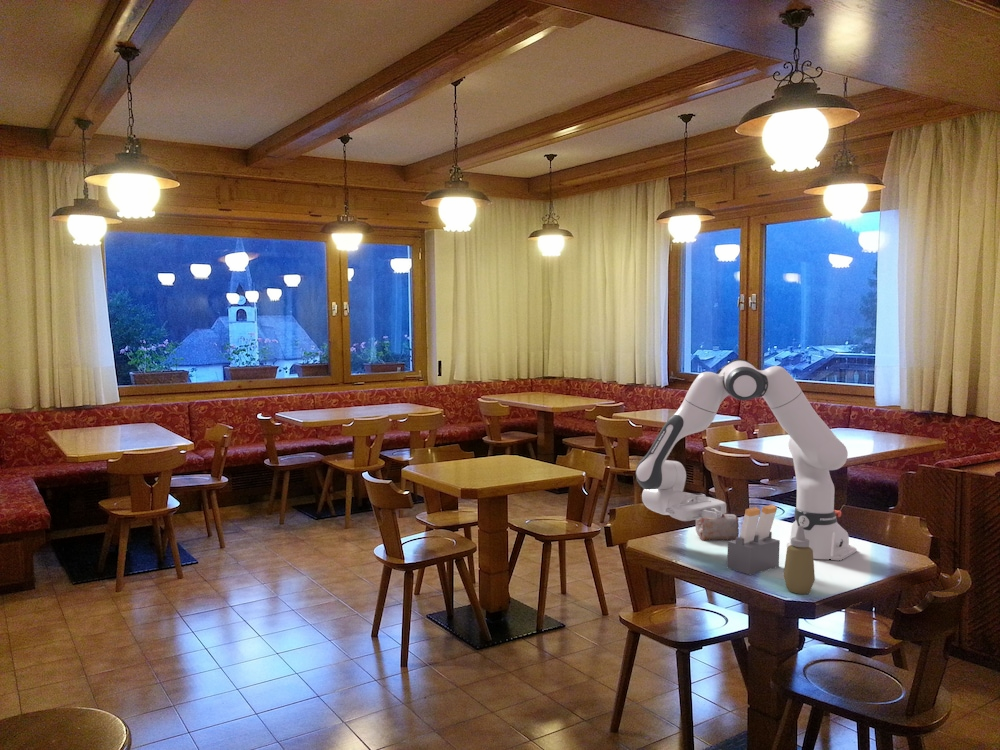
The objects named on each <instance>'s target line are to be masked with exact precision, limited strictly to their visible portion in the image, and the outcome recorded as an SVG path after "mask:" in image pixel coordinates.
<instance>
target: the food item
mask: <svg viewBox="0 0 1000 750" xmlns="http://www.w3.org/2000/svg"><path fill="white" fill-rule="evenodd" d="M739 521H740V519H739V517H738V516H737V515H736V514H734V513H725V514H722V517H720V518H709V517H706V518H701V519H696V520H695V532H696V534H697V536H698V537H699V538H700V539H701V540H702V541H727V542H728V541H732V540H736V537H739V536H740V534H739V533H740V532H739V531H740V529H739V527H740V526H739V525H740V524H739Z"/></svg>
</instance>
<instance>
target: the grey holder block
mask: <svg viewBox="0 0 1000 750" xmlns="http://www.w3.org/2000/svg"><path fill="white" fill-rule="evenodd" d="M780 543H781V542H780V540H779V539H775V538H772V531H770V533H769V537H766V538H762V539H758V535H756V534H755V537H754V540H753V541H749V542H745V543H744V538H740V536H738V537H736V540H732V541H727V559H726V560H727V561H726V563H727V565H726V567H728V568H727V569H729V568H731V569H730V570H733V569H735V570H734V571H736V570H737V572H739V571H741V572H740V573H742V572H743V573H742V574H745V573H746V574H745V575H748V574H749V575H748V576H751V575H755V574H759V573H760V572H761V571H762V572H765V571H768V569H769V570H771V569H775V567H776V568H778V567H779V566H780ZM754 573H755V574H754ZM750 574H751V575H750Z"/></svg>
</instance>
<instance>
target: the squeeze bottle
mask: <svg viewBox="0 0 1000 750" xmlns="http://www.w3.org/2000/svg"><path fill="white" fill-rule="evenodd" d="M786 547H787V546H786ZM814 561H815V559H813V550H812V549H811V548H810V547H809V540H808V539H806V538H805V534H804V529H803V526H798V530H797V533H796V537H794V538H792V539H791V545H790V546H788V547H787V549H786V554H785V562H784V568H783V569H784V570H783V574H782V576H783V580H784V583H785V586H786V589H787V591H788V592H791V593H794V594H799V595H804V594H809V593H810V592H811V591H812V588H813V585H814V583H815V581H816V575H815V563H814Z"/></svg>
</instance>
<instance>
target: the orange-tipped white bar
mask: <svg viewBox="0 0 1000 750" xmlns="http://www.w3.org/2000/svg"><path fill="white" fill-rule="evenodd" d="M777 510H778V507H777V506H775V505H774V504H769V505H764V506H762V508H761V511H760V515H759V519H758V523H757V528H756V532H755V534H756V535H758V539H762V538H766V537H769V533H770V532H771V530H772V526H773V523H774V520H775V515H776V513H777Z"/></svg>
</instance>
